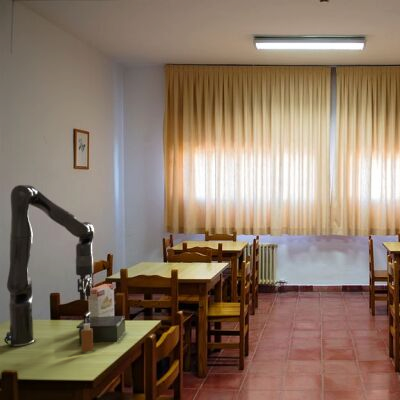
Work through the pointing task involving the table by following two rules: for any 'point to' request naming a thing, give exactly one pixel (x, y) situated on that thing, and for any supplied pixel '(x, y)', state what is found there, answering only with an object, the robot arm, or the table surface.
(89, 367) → the table surface
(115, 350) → the table surface
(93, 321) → the lid
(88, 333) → the bottle
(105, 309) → the cracker box
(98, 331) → the warmer
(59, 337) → the table surface
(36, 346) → the table surface
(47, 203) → the robot arm
